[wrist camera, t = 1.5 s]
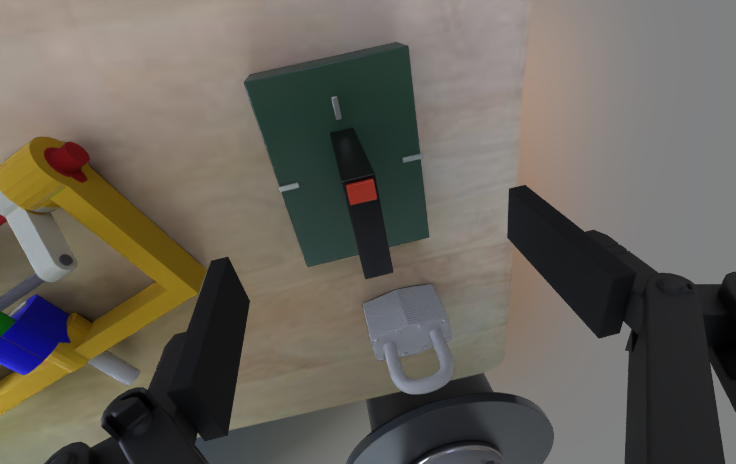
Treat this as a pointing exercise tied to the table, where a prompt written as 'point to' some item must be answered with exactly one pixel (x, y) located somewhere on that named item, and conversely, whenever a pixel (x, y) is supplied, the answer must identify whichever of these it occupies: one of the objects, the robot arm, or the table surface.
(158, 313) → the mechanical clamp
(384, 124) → the green rectangular block
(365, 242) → the black bar red tab
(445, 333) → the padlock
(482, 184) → the table surface
